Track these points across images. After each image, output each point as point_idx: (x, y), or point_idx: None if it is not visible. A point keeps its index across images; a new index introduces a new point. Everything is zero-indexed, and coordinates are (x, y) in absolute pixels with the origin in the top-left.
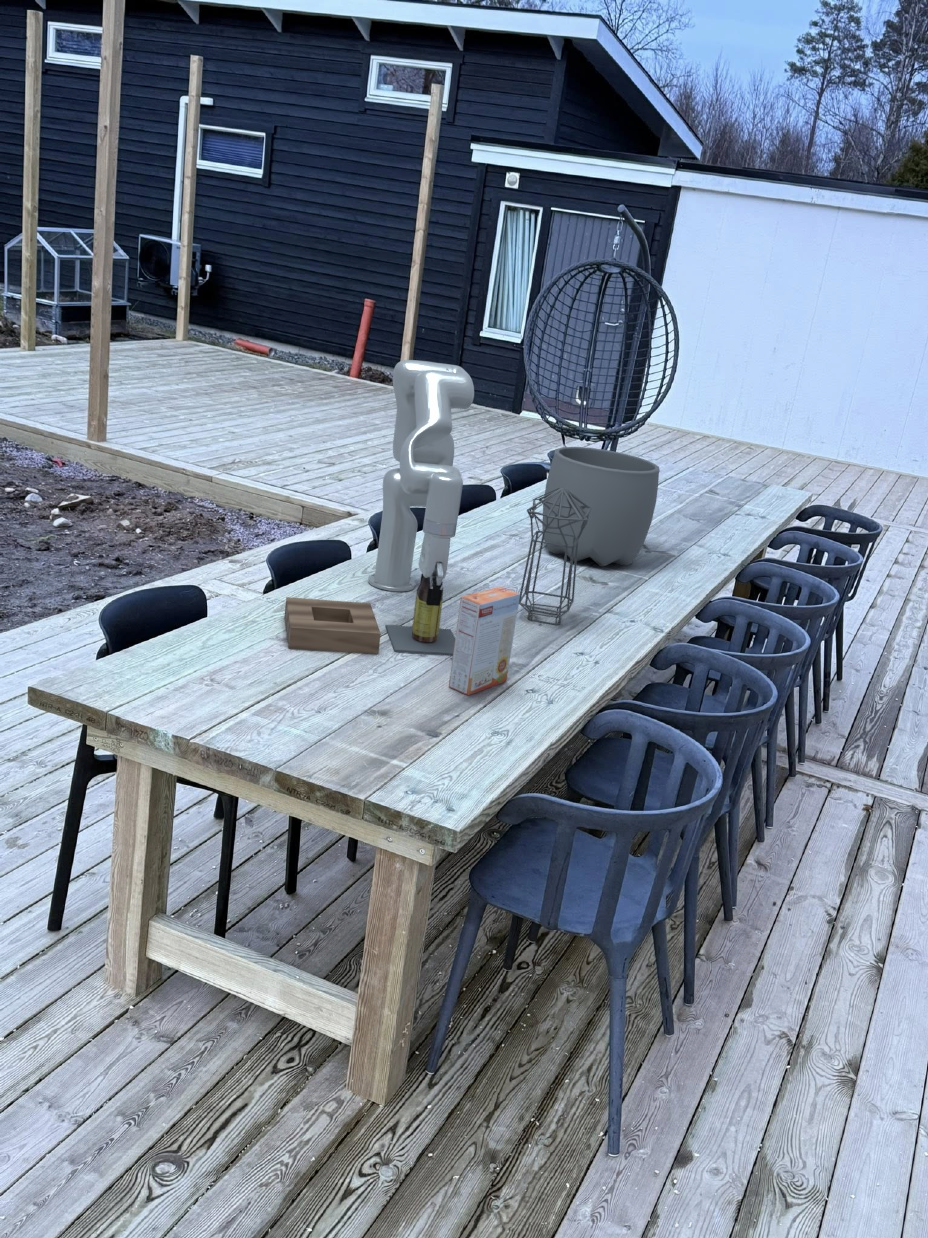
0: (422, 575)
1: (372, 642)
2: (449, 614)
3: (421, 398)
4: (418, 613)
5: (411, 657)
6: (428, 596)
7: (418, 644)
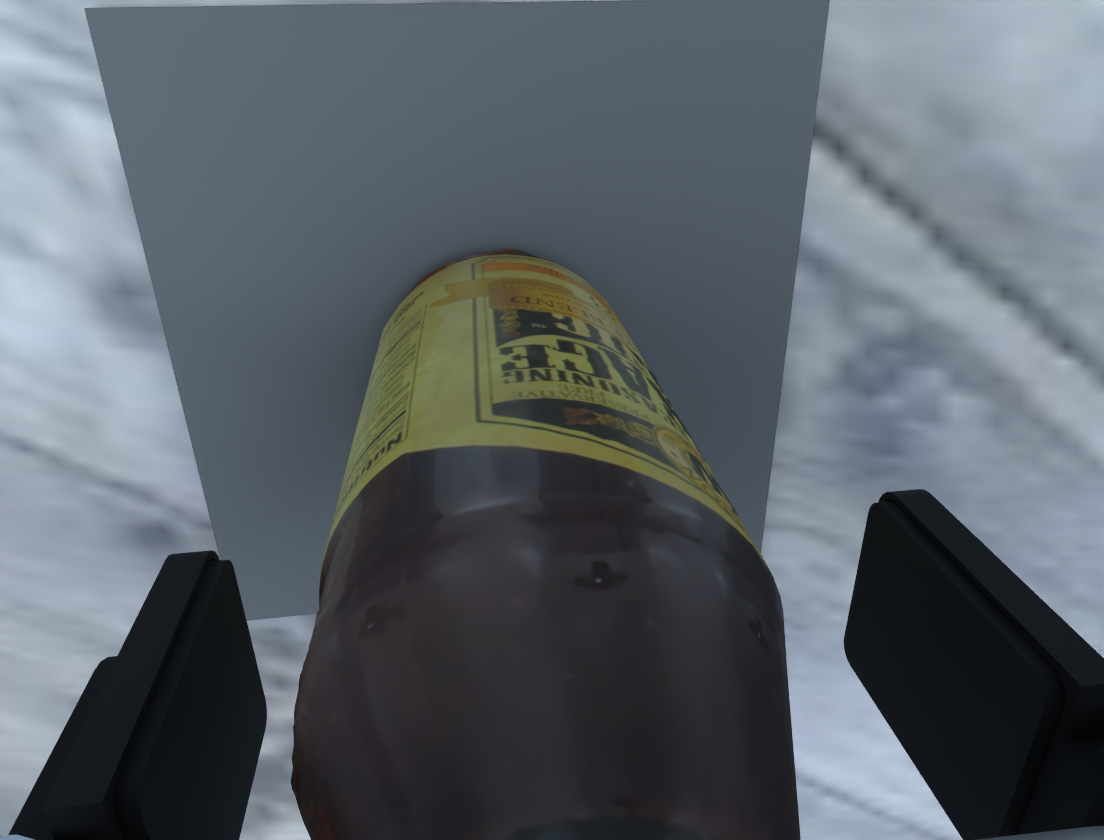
0: (1055, 684)
1: None
2: (1081, 571)
3: None
4: (408, 368)
5: (21, 186)
6: (124, 670)
7: (339, 289)
